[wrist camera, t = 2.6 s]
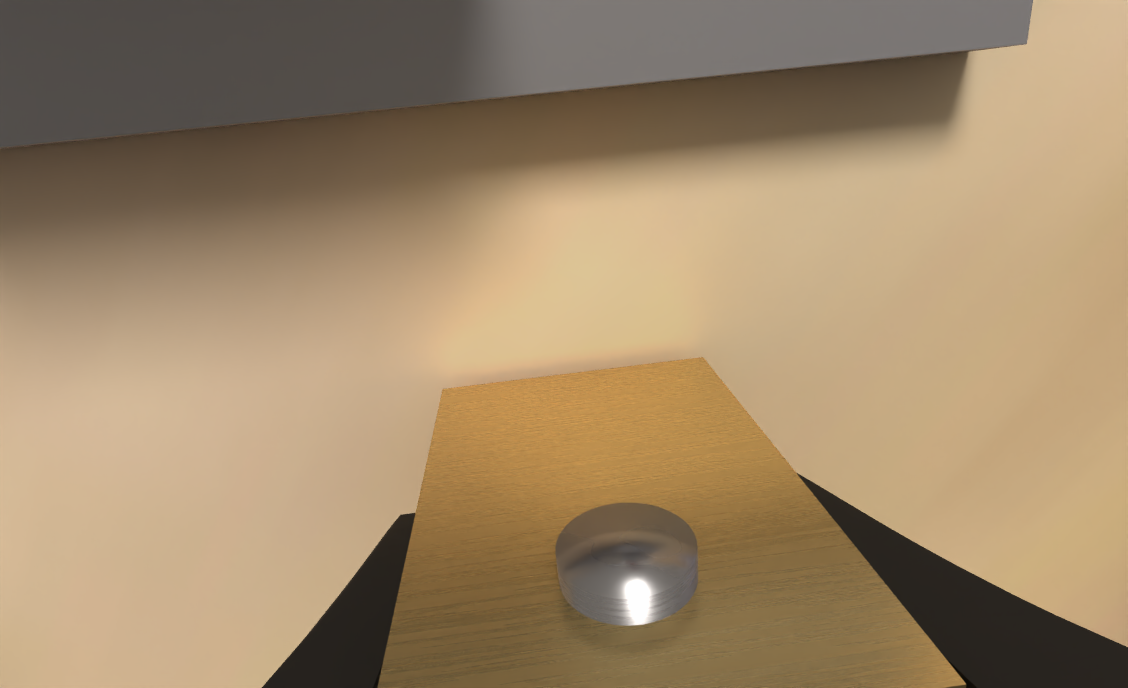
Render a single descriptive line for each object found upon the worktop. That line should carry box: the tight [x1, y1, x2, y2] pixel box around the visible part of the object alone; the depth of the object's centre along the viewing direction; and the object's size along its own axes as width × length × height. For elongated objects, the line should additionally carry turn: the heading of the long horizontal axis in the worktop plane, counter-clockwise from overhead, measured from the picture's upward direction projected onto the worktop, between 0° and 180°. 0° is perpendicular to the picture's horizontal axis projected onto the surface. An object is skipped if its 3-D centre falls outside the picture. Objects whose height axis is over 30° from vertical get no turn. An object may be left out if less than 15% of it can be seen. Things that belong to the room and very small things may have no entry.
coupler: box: [378, 357, 966, 688], centre depth 8 cm, size 4×5×6 cm
